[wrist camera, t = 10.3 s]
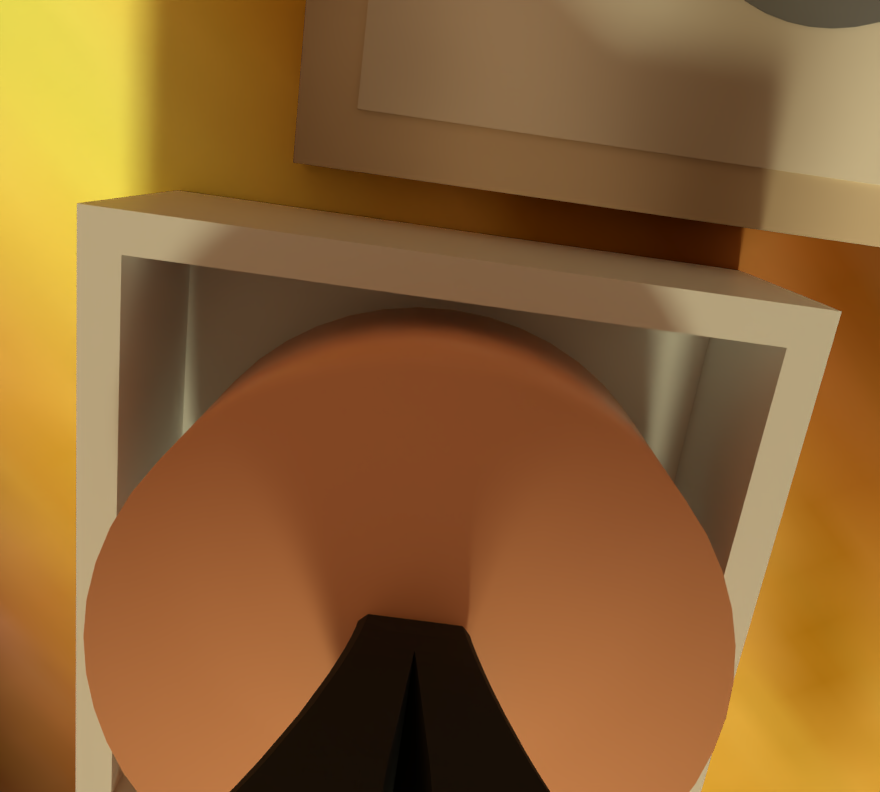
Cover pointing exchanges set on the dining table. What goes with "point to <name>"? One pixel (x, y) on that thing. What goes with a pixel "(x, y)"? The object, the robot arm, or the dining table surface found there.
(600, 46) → the board
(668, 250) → the dining table surface
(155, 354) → the open square beige box
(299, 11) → the dining table surface
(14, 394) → the dining table surface
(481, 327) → the orange dome
